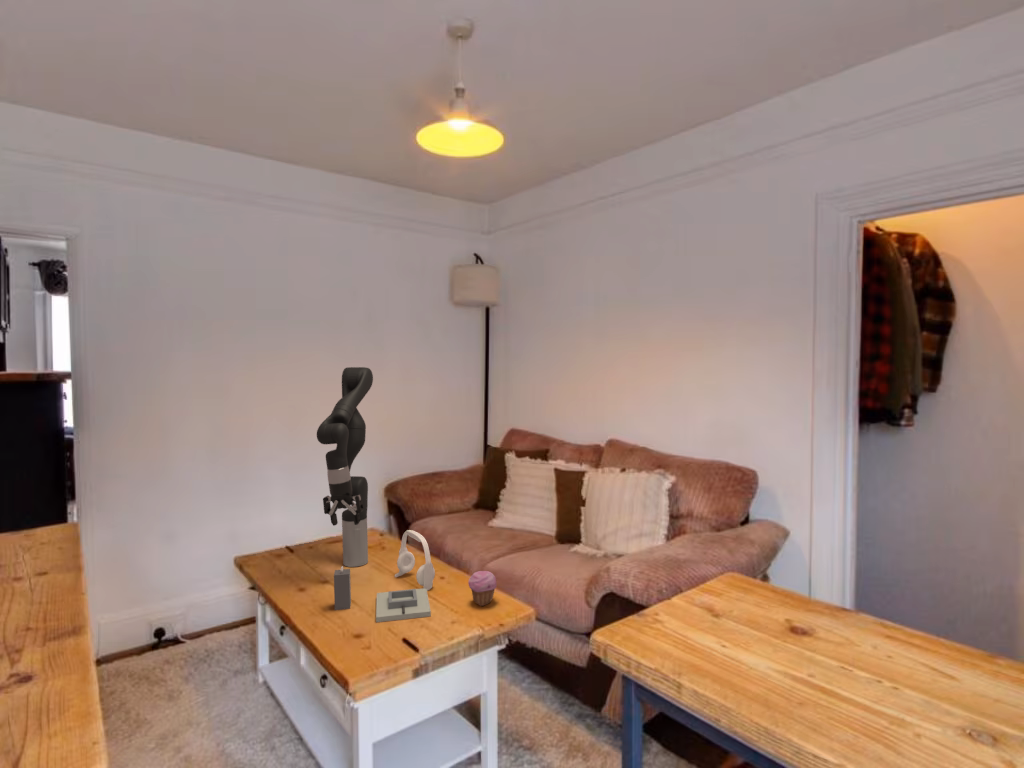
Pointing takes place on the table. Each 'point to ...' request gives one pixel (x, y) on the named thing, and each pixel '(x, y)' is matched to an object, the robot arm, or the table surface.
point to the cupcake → (482, 587)
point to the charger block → (342, 589)
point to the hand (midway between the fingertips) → (346, 524)
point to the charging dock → (402, 605)
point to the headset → (408, 561)
